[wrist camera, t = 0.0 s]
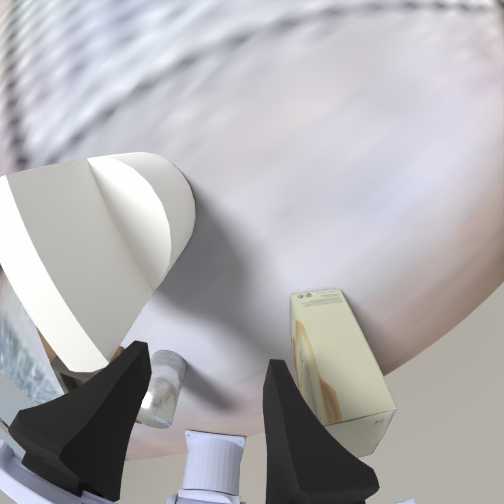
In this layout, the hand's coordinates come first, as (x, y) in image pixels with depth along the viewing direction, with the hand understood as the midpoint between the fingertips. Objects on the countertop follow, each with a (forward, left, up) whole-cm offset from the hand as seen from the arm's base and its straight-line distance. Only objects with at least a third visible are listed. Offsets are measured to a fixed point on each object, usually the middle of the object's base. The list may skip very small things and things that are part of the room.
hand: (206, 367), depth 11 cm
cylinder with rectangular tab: (+4, +7, -10) cm, 13 cm away
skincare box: (-4, -8, -11) cm, 14 cm away
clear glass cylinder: (-11, +5, -10) cm, 16 cm away
